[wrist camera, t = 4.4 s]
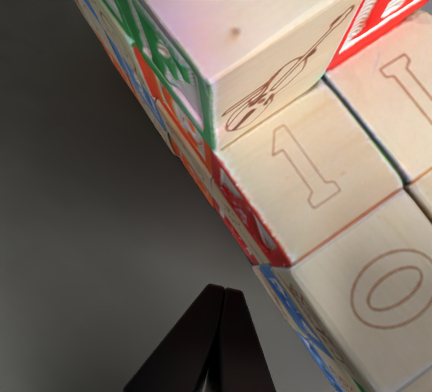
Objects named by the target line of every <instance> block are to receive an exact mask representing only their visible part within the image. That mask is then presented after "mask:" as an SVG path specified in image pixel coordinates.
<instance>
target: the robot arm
mask: <svg viewBox="0 0 432 392" xmlns="http://www.w3.org/2000/svg"><path fill="white" fill-rule="evenodd" d="M207 371H208V373H207ZM206 375H207V380H206V389H205V392H276V390H275V387H274V384H273V381H272V378H271V375H270V372H269V369H268V366H267V363H266V360H265V357H264V354H263V351H262V348H261V345H260V342H259V339H258V336H257V333H256V330H255V327H254V324H253V321H252V318H251V315H250V312H249V309H248V306H247V303H246V300H245V297H244V294H243V292H242V291H240V290H236V289H232V288H226V289H224V287H223V286H219V285H214V284H208V285H207V286H206V287H205V288H204V290H203V291H202V292H201V293H200V295H199V296H198V297H197V298H196V299H195V301H194V302H193V303H192V304H191V306H190V307H189V308H188V309H187V311H186V312H185V313H184V314H183V316H182V317H181V318H180V319H179V320H178V322H177V323H176V324H175V325H174V327H173V328H172V329H171V330H170V332H169V333H168V334H167V335H166V337H165V338H164V339H163V340H162V341H161V343H160V344H159V345H158V346H157V348H156V349H155V350H154V351H153V353H152V354H151V355H150V356H149V358H148V359H147V360H146V361H145V363H144V364H143V365H142V366H141V367H140V369H139V370H138V371H137V372H136V374H135V375H134V376H133V377H132V379H131V380H130V381H129V382H128V384H127V385H126V386H125V387H124V388H123V390H122V392H202V389H203V386H204V383H205V379H206Z"/></svg>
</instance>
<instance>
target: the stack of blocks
mask: <svg viewBox="0 0 432 392" xmlns="http://www.w3.org/2000/svg"><path fill="white" fill-rule="evenodd" d="M74 1H75V3H76V4H77V6H78V7H79V9H80V11H81V12H82V14H83V16H84V17H85V19H86V20H87V22H88V23H89V25H90V26H91V28H92V29H93V31H94V32H95V34H96V35H97V37H98V38H99V40H100V41H101V43H102V44H103V46H104V48H105V50H106V52H107V54H108V55H109V57H110V59H111V61H112V62H113V64H114V65H115V67H116V68H117V70H118V71H119V73H120V74H121V76H122V77H123V79H124V80H125V82H126V83H127V85H128V86H129V88H130V89H131V91H132V92H133V94H134V95H135V97H136V98H137V100H138V101H139V103H140V104H141V105H142V107H143V108H144V110H145V112H146V113H147V115H148V116H149V118H150V120H151V121H152V123H153V124H154V126H155V127H156V129H157V130H158V132H159V133H160V135H161V136H162V138H163V139H164V141H165V142H166V143H167V145H168V146H169V148H170V149H171V151H172V152H173V154H174V155H176V156H178V157H179V158H180V159H181V161H182V162H183V164H184V166H185V167H186V169H187V170H188V172H189V173H190V174H191V176H192V177H193V179H194V180H195V182H196V183H197V185H198V186H199V188H200V189H201V191H202V192H203V194H204V195H205V197H206V198H207V200H208V201H209V203H210V204H211V206H212V207H214V208H215V209H216V210H217V212H218V213H219V215H220V216H221V218H222V220H223V221H224V223H225V224H226V226H227V227H228V228H229V230H230V231H231V233H232V234H233V236H234V237H235V239H236V240H237V241H238V243H239V245H240V246H241V248H242V249H243V250H244V252H245V253H246V255H247V256H248V258H249V259H250V261H251V262H252V263H253V265H252V269H253V271H254V272H255V274H256V275H257V277H258V278H259V280H260V281H261V283H262V284H263V286H264V287H265V289H266V290H267V292H268V293H269V295H270V296H271V298H272V299H273V301H274V302H275V304H276V305H277V306H278V308H279V309H280V311H281V312H282V314H283V315H284V317H285V318H286V320H287V321H288V323H289V324H290V326H292V327H293V328H294V329H295V331H296V332H297V334H298V335H299V337H300V338H301V340H302V341H303V343H304V344H305V346H306V347H307V349H308V350H309V352H310V353H311V355H312V356H313V358H314V359H315V361H316V362H317V364H318V365H319V366H320V368H321V369H322V371H323V372H324V374H325V375H326V377H327V378H328V380H329V381H330V383H331V384H332V385H333V387H334V388H335V389H336V390H337V391H338V392H432V15H430V14H429V13H427V12H425V11H422V10H421V7H422V6H424V5H425V4H427V2H428V1H429V0H74Z"/></svg>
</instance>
